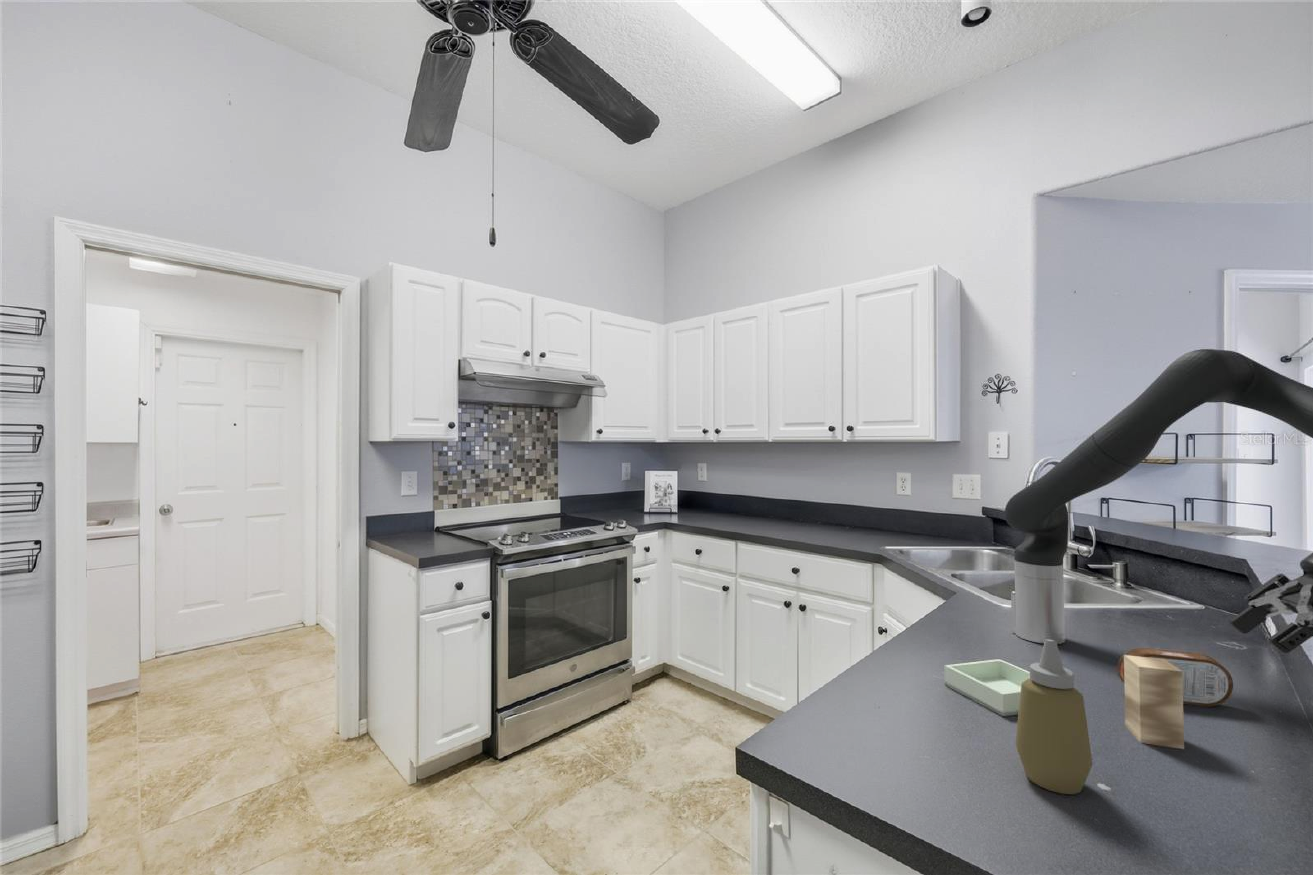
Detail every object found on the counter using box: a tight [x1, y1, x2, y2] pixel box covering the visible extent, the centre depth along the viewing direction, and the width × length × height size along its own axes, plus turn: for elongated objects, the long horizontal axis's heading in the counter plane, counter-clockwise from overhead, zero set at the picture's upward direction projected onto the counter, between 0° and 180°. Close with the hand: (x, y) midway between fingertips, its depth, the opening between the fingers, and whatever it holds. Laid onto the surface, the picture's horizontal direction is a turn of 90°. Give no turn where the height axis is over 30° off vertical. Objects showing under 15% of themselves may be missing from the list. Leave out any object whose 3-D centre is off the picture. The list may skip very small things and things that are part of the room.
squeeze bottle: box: [1015, 639, 1094, 795], centre depth 71 cm, size 8×8×18 cm
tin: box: [1117, 646, 1234, 707], centre depth 94 cm, size 15×3×8 cm, turn 71°
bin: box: [943, 658, 1030, 717], centre depth 96 cm, size 12×12×4 cm
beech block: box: [1123, 654, 1185, 750], centre depth 82 cm, size 5×5×11 cm
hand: (1255, 637), depth 78 cm, fingers open, 8 cm apart
